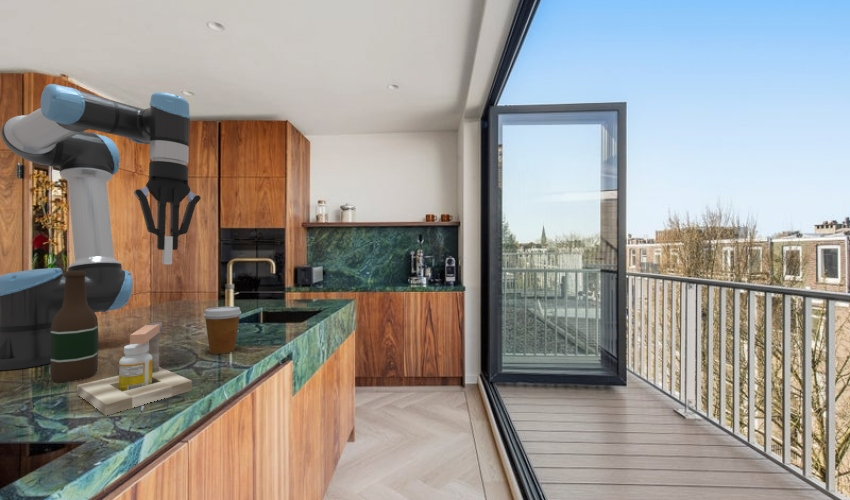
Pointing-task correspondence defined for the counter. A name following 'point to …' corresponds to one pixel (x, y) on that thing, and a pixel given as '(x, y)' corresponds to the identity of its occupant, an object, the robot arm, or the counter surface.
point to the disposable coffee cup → (222, 328)
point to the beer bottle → (74, 333)
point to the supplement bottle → (135, 367)
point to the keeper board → (114, 400)
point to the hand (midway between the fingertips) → (167, 263)
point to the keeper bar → (145, 333)
